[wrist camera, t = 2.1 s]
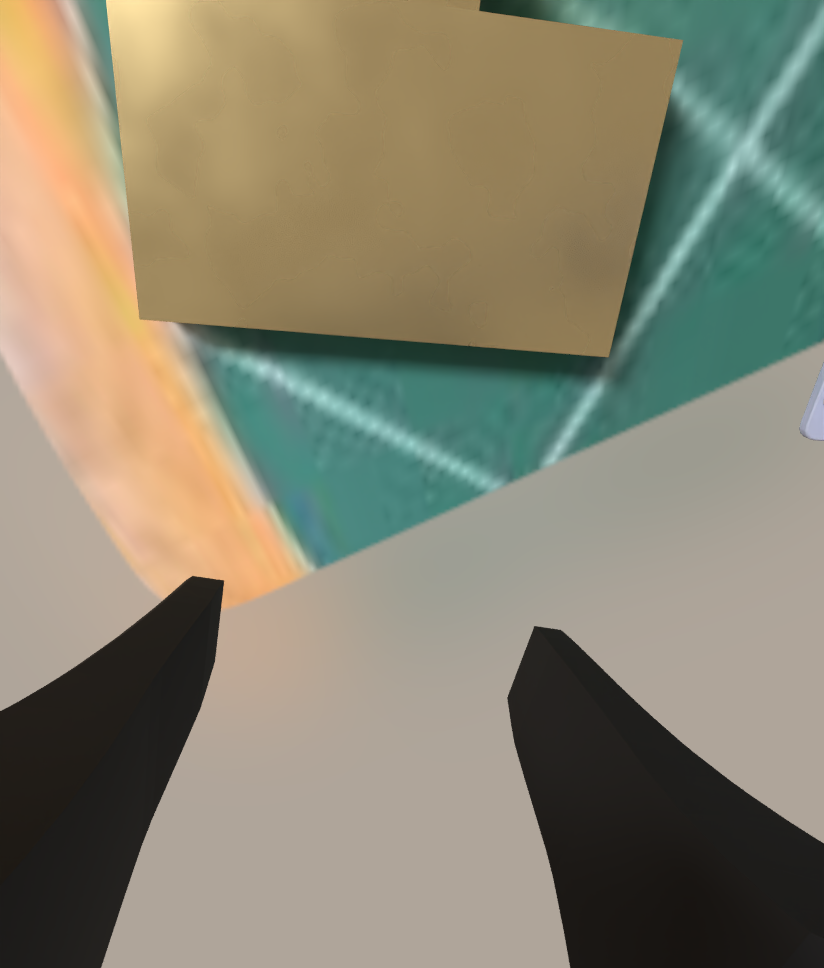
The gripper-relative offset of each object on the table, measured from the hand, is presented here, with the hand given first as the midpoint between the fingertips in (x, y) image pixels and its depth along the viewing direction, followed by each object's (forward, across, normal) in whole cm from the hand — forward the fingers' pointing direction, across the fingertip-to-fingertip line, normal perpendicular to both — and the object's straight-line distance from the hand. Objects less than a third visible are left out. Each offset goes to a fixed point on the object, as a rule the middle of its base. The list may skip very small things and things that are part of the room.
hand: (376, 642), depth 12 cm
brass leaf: (+9, +2, -11) cm, 15 cm away
